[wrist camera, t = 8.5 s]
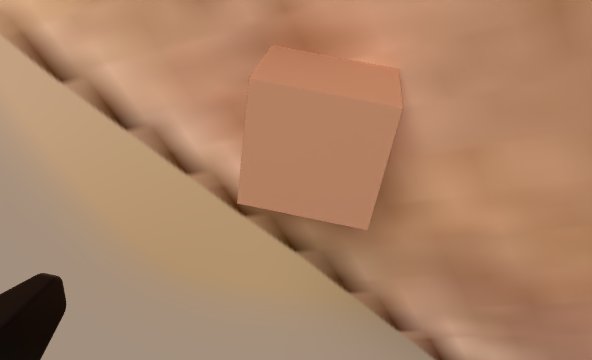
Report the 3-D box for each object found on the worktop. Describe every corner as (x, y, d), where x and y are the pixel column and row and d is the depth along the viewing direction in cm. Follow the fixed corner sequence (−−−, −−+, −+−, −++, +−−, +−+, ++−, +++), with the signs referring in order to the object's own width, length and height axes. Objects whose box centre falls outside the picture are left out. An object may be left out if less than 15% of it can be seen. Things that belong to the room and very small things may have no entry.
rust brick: (398, 67, 18) (403, 108, 15) (369, 175, 21) (367, 230, 17) (272, 43, 18) (248, 78, 15) (259, 153, 21) (237, 203, 18)
